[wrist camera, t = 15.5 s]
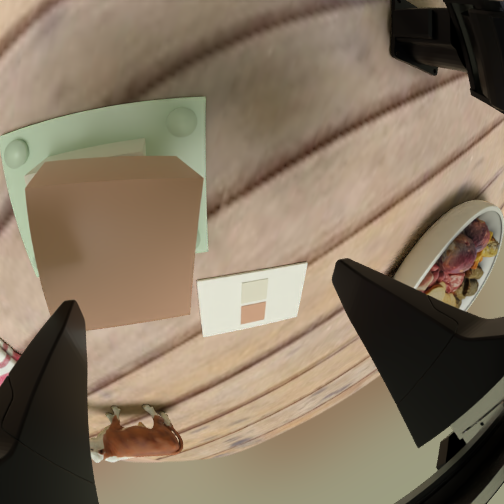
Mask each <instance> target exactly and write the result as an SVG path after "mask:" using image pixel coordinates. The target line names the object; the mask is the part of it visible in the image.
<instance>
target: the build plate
mask: <svg viewBox="0 0 504 504" xmlns="http://www.w3.org/2000/svg"><path fill="white" fill-rule="evenodd" d="M205 121H206V97H184V98H170V99H159V100H149V101H141V102H133V103H126V104H120V105H114V106H108V107H102V108H97V109H92V110H87V111H83V112H78V113H74V114H70V115H65V116H62V117H58V118H54V119H50V120H47V121H43V122H40V123H37V124H33V125H30V126H27V127H24V128H21V129H18V130H15V131H12V132H10V133H7V134H4V135H2V136H0V152H1V158H2V164H3V169H4V174H5V179H6V183H7V188H8V192H9V196H10V200H11V204H12V208H13V211H14V215H15V218H16V221H17V225H18V228H19V231H20V234H21V237H22V240H23V243H24V246H25V248H26V251H27V254H28V256H29V259H30V262H31V264H32V267H33V269H34V271H35V274H36V276H37V277H39V273H38V269H37V265H36V260H35V255H34V250H33V245H32V240H31V234H30V228H29V221H28V214H27V205H26V196H25V188H26V184H25V179H24V176H25V175H26V174H27V173H28V172H29V171H31V170H32V169H33V168H34V167H36V166H37V165H38V164H39V163H41V162H42V161H43V160H44V159H46V158H47V157H49V156H53V155H57V154H61V153H65V152H69V151H73V150H78V149H83V148H87V147H92V146H97V145H103V144H108V143H114V142H120V141H126V140H133V139H140V138H145V145H146V156H177V157H178V158H179V159H180V160H182V161H183V162H184V163H186V164H187V165H188V166H189V167H191V168H192V169H193V170H194V171H196V172H197V173H198V174H199V175H201V176H202V177H203V178H204V182H203V189H202V197H201V205H200V213H199V221H198V230H197V240H196V249H195V253H201V252H208V233H207V205H206V150H205Z"/></svg>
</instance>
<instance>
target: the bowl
mask: <svg viewBox="0 0 504 504" xmlns="http://www.w3.org/2000/svg"><path fill="white" fill-rule="evenodd" d="M503 232H504V219H503V214H502V212H501V210H500V209H499V208H498V207H497V206H495V205H494V204H492V203H490V202H487V201H484V200H471V201H467V202H464V203H462V204H459V205H457V206H456V207H454V208H452V209H451V210H449V211H448V212H447V213H445V214H444V215H443V216H442V217H440V218H439V219H438V220H437V221H436V222H435V223H434V224H433V225H432V226H431V227H430V228H429V229H428V230H427V231H426V232H425V234H424V235H423V236H422V237H421V238H420V239H419V241H418V242H417V243H416V244H415V246H414V247H413V248H412V249H411V251H410V252H409V254H408V255H407V256H406V258H405V259H404V261H403V262H402V264H401V265H400V267H399V268H398V270H397V272H396V273H395V275H394V277H393V279H395V280H397V281H400V282H402V283H404V284H406V285H408V286H410V287H412V288H415V289H417V290H419V291H421V292H423V293H425V294H427V295H430V296H432V297H434V298H436V299H438V300H440V301H442V302H444V303H447V304H449V305H451V306H454V307H456V308H459V309H461V310H463V311H467V310H468V308H469V307H470V305H471V304H472V303H473V301H474V300H475V298H476V297H477V295H478V294H479V292H480V291H481V289H482V288H483V286H484V284H485V282H486V280H487V278H488V277H489V275H490V273H491V271H492V268H493V266H494V264H495V261H496V258H497V256H498V253H499V250H500V247H501V242H502V237H503Z"/></svg>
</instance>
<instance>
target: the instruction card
mask: <svg viewBox="0 0 504 504" xmlns="http://www.w3.org/2000/svg"><path fill="white" fill-rule="evenodd" d="M306 269H307V262H302V263H296V264H291V265H285V266H279V267H273V268H268V269H262V270H256V271H250V272H244V273H238V274H232V275H226V276H220V277H214V278H208V279H202V280H197V290H198V299H199V308H200V317H201V326H202V334H203V337H207V336H212V335H217V334H222V333H227V332H232V331H237V330H242V329H246V328H251V327H255V326H260V325H264V324H269V323H273V322H277V321H281V320H285V319H289V318H293V317H297V313H298V309H299V304H300V299H301V294H302V289H303V284H304V279H305V274H306Z"/></svg>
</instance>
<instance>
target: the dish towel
mask: <svg viewBox="0 0 504 504" xmlns="http://www.w3.org/2000/svg"><path fill="white" fill-rule="evenodd" d="M20 356H21V355H20V354H18V353H16V352H14V351H13V350H12V348H11V347H10V346H9V345H7V344H6V343H4V342H3V341H2V340H1V339H0V386H1V384H2V383H3V381H4V380H5V378H6V377H7V376H9V372H10V371H11V369H12V368H13V366H14V365H15V363H16V362H17V361H18V359H19V358H20Z"/></svg>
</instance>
